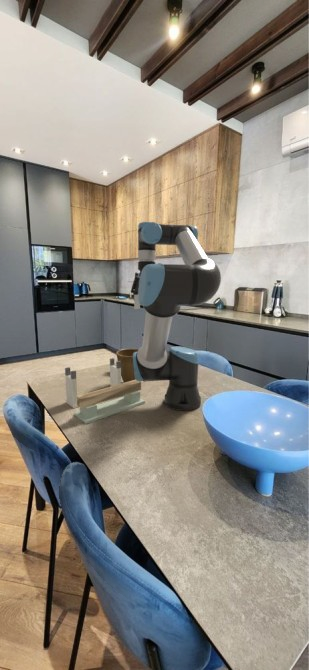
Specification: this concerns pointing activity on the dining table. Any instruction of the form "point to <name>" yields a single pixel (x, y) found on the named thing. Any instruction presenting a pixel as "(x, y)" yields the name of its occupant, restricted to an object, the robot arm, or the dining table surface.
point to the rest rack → (109, 407)
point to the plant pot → (127, 364)
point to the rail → (108, 393)
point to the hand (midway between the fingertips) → (146, 310)
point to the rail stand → (72, 384)
